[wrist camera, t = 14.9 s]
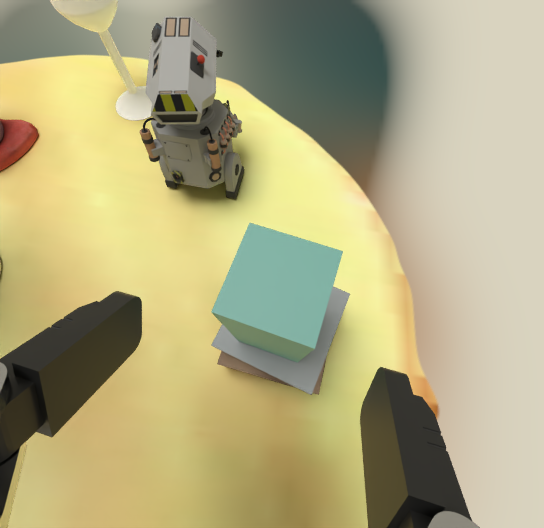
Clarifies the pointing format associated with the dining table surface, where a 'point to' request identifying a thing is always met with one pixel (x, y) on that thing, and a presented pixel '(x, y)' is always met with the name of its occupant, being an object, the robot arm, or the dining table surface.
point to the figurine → (189, 109)
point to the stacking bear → (15, 140)
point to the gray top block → (285, 369)
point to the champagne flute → (98, 17)
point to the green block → (277, 292)
